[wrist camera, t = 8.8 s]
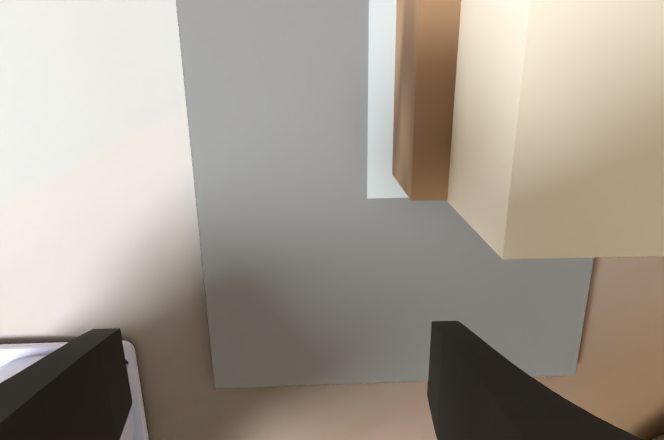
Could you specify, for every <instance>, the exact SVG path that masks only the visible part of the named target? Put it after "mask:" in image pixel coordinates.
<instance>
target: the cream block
mask: <svg viewBox="0 0 664 440" xmlns="http://www.w3.org/2000/svg"><path fill="white" fill-rule="evenodd" d="M447 202H448V203H449V204H450V205H451V206H452V207H453V208H454V209H455V210H456V211H457V212H458V213H459V214H460V215H461V217H462V218H463V219H464V220H465V221H466V222H467V223H468V224H469V225H470V226H471V227H472V228H473V229H474V230H475V231H476V232H477V233H478V234H479V235H480V236H481V237H482V239H483V240H484V241H485V242H486V243H487V244H488V245H489V246H490V247H491V248H492V249H493V250H494V251H495V252H496V253H497V254H498V255H499V256H500V257H501V258H502V259H545V258H596V257H646V256H664V0H461V11H460V25H459V40H458V54H457V68H456V83H455V97H454V112H453V126H452V140H451V155H450V169H449V183H448V198H447Z"/></svg>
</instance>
